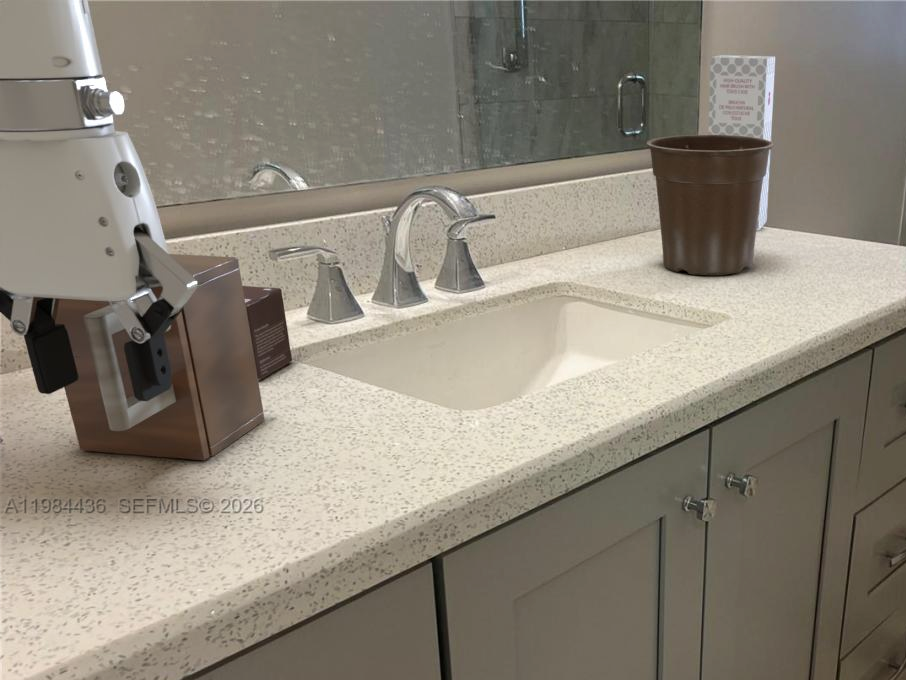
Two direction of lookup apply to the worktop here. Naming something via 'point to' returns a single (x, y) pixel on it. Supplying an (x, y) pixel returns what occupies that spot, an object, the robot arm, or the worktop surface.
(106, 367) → the door
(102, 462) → the worktop surface
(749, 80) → the box
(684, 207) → the plant pot
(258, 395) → the cabinet
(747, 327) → the worktop surface
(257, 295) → the box
